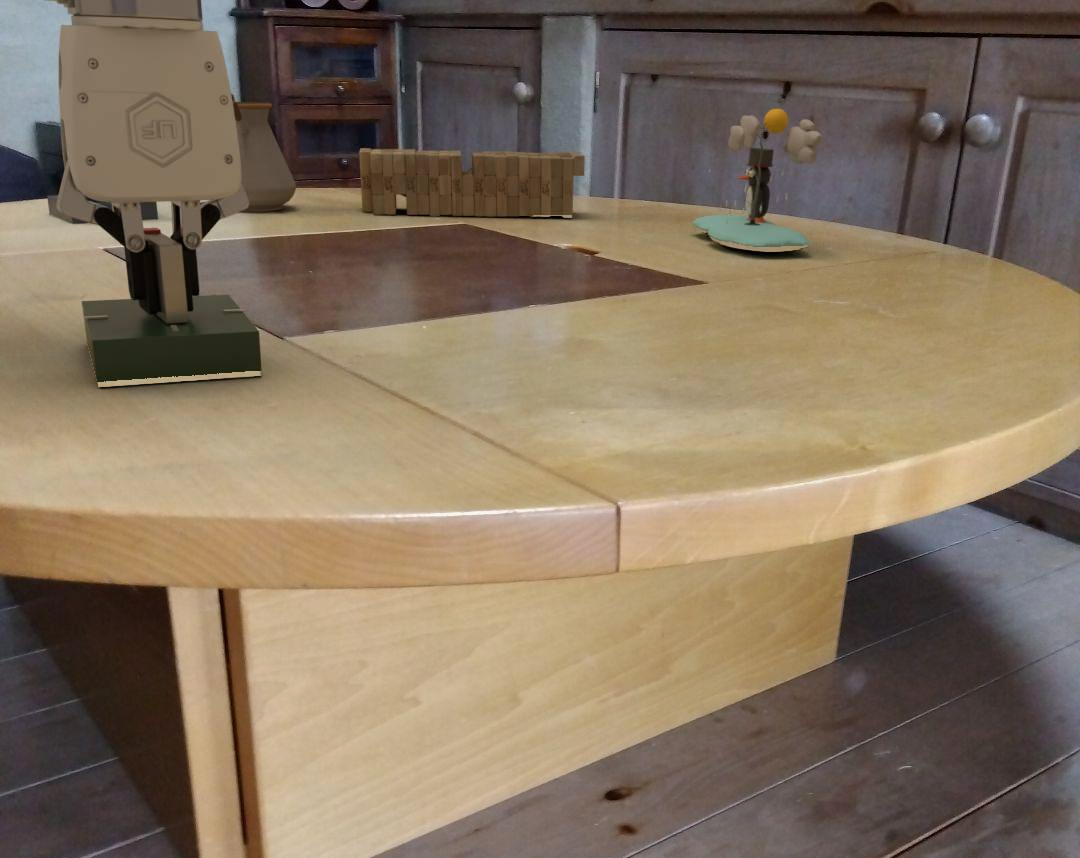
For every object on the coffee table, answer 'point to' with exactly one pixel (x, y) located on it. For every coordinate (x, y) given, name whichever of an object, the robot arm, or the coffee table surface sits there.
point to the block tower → (469, 182)
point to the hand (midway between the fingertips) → (166, 307)
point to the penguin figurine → (762, 183)
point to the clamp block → (169, 340)
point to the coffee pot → (261, 159)
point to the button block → (146, 207)
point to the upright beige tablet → (169, 276)
